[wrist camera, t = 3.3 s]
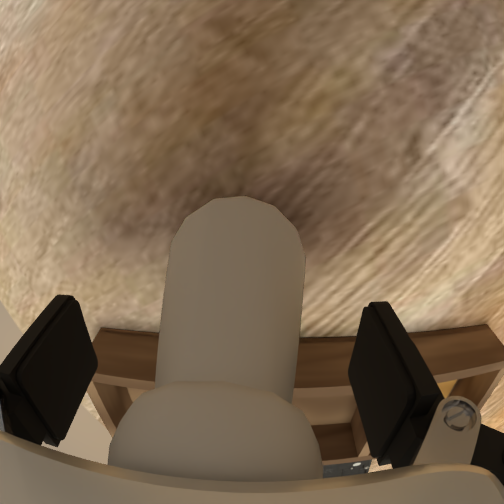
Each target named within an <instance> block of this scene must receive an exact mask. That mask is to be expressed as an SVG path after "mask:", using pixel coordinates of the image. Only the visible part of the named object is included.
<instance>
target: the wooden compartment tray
mask: <svg viewBox="0 0 504 504" xmlns="http://www.w3.org/2000/svg"><path fill="white" fill-rule="evenodd" d="M408 335H409V337H410V339H411V340H412V341H413V342H414V344H415V345H416V347H417V349H418V350H419V352H420V354H421V356H422V357H423V359H424V361H425V363H426V364H427V366H428V368H429V370H430V372H431V373H432V375H433V377H434V379H435V381H436V383H437V384H438V386H439V388H440V390H441V392H442V394H443V396H444V398H447V397H450V396H461V397H465V398H467V399H469V400H471V401H472V402H473V403H474V404H475V405H476V406H477V408H478V409H479V411H480V409H481V408H482V407H483V405H484V404H485V402H486V401H487V399H488V398H489V397H490V395H491V394H492V392H493V390H494V389H495V387H496V386H497V384H498V383H499V381H500V380H501V378H502V376H503V375H504V345H503V344H502V343H501V341H500V340H499V339H498V338H497V336H496V335H495V334H494V332H493V331H492V330H491V329H490V327H489V326H488V325H487V324H486V325H478V326H471V327H463V328H455V329H446V330H436V331H426V332H415V333H408ZM356 337H357V336H352V337H323V338H299V345H298V355H297V364H296V373H295V382H294V391H293V399H292V405H293V406H295V407H297V408H298V409H300V410H301V411H303V412H304V414H305V416H306V418H307V419H308V421H309V423H310V425H311V428H312V430H313V432H314V434H315V437H316V439H317V441H318V444H319V448H320V453H321V459H322V464H323V465H331V464H341V463H349V462H357V461H364V460H371V459H377V458H372V456H371V454H370V450H369V446H368V443H367V439H366V435H365V432H364V428H363V425H362V421H361V418H360V414H359V411H358V407H357V404H356V401H355V397H354V394H353V391H352V387H351V384H350V381H349V377H348V367H349V363H350V360H351V356H352V352H353V348H354V345H355V341H356ZM158 342H159V333H151V332H139V331H128V330H118V329H109V328H101V329H100V330H99V332H98V334H97V335H96V337H95V339H94V340H93V342H92V345H93V348H94V351H95V353H96V356H97V359H98V367H97V370H96V372H95V374H94V376H93V378H92V380H91V382H90V384H89V386H88V389H87V392H88V394H89V396H90V398H91V400H92V402H93V404H94V406H95V408H96V410H97V412H98V413H99V415H100V417H101V419H102V421H103V423H104V424H105V426H106V428H107V430H108V431H109V433H110V435H111V436H112V438H113V436H114V434H115V432H116V429H117V427H118V425H119V423H120V421H121V419H122V418H123V416H124V415H125V414H126V412H127V411H128V409H129V408H130V406H131V405H132V403H133V402H134V401H135V400H136V399H137V398H138V397H139V396H140V395H141V394H142V393H144V392H147V391H150V390H152V389H155V376H156V364H157V352H158Z"/></svg>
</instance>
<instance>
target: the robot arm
mask: <svg viewBox="0 0 504 504" xmlns="http://www.w3.org/2000/svg"><path fill="white" fill-rule="evenodd" d="M97 367H98V359H97V356H96V353H95V351H94V348H93V345H92V342H91V339H90V336H89V333H88V330H87V327H86V324H85V321H84V318H83V314H82V311H81V308H80V304H79V302H78V301H77V300H75V298H74V297H73V296H70V295H57V296H55V298H54V299H53V300H52V301H51V302H50V303H49V305H48V306H47V307H46V308H45V309H44V310H43V312H42V313H41V314H40V315H39V316H38V318H37V319H36V320H35V321H34V322H33V324H32V325H31V326H30V327H29V329H28V330H27V331H26V332H25V334H24V335H23V336H22V337H21V339H20V340H19V341H18V342H17V344H16V345H15V346H14V348H13V349H12V350H11V352H10V353H9V354H8V355H7V357H6V358H5V360H4V361H3V363H2V364H1V365H0V504H504V433H502V432H499V431H497V430H495V429H492V428H490V427H488V426H485V425H483V424H481V414H480V411H479V409H478V408H477V406H476V405H475V404H474V403H473V402H472V401H471V400H469V399H467V398H465V397H461V396H450V397H447V398H444V396H443V394H442V392H441V390H440V388H439V386H438V384H437V383H436V381H435V379H434V377H433V375H432V373H431V372H430V370H429V368H428V366H427V364H426V363H425V361H424V359H423V357H422V356H421V354H420V352H419V350H418V349H417V347H416V345H415V344H414V342H413V341H412V340H411V339H410V337H409V335H408V333H407V332H406V330H405V328H404V327H403V325H402V323H401V322H400V320H399V318H398V317H397V315H396V314H395V312H394V310H393V309H392V307H391V305H390V304H389V303H388V302H386V301H385V302H371V303H369V305H368V307H364V309H363V312H362V316H361V320H360V325H359V329H358V333H357V337H356V341H355V345H354V348H353V352H352V356H351V360H350V363H349V367H348V377H349V381H350V384H351V387H352V391H353V394H354V397H355V401H356V404H357V407H358V411H359V414H360V418H361V421H362V425H363V428H364V432H365V435H366V439H367V443H368V446H369V450H370V454H371V456H372V458H377V461H378V465H379V466H381V465H386V464H392V468H393V469H388V470H382V471H376V472H370V473H364V474H357V475H350V476H342V477H333V478H323V479H312V480H298V481H276V482H238V481H216V480H202V479H191V478H181V477H173V476H165V475H158V474H152V473H146V472H140V471H134V470H129V469H124V468H119V467H115V466H110V465H106V464H101V463H98V462H93V461H90V460H86V459H82V458H78V457H75V456H72V455H68V454H65V453H62V452H59V451H56V450H53V449H49V448H47V447H44V446H41V444H42V442H43V441H44V442H45V443H46V444H49V445H52V446H55V447H58V445H59V443H60V441H61V440H63V439H65V437H66V434H67V432H68V430H69V428H70V425H71V423H72V421H73V419H74V416H75V414H76V412H77V409H78V408H79V405H80V403H81V401H82V399H83V397H84V395H85V393H86V391H87V389H88V386H89V384H90V382H91V380H92V378H93V376H94V374H95V372H96V370H97Z"/></svg>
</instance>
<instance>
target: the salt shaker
mask: <svg viewBox="0 0 504 504" xmlns="http://www.w3.org/2000/svg"><path fill="white" fill-rule="evenodd" d="M305 262H306V257H305V253H304V250H303V247H302V243H301V240H300V237H299V233H298V230H297V229H296V228H295V226H294V225H293V224H292V223H291V222H290V221H289V220H288V219H287V218H286V217H285V216H284V215H283V214H282V213H281V212H280V211H279V210H278V209H277V208H276V207H275V206H274V205H271V204H268V203H265V202H262V201H259V200H256V199H254V198H251V197H248V196H237V197H226V198H215V199H213V200H211V201H210V202H208V203H207V204H205V205H204V206H202V207H201V208H199V209H198V210H196V211H195V212H193V213H192V214H190V215H189V216H187V217H186V218H185V220H184V221H183V223H182V225H181V226H180V228H179V230H178V231H177V233H176V235H175V236H174V238H173V240H172V241H171V247H170V253H169V260H168V267H167V274H166V281H165V289H164V297H163V305H162V313H161V322H160V332H159V342H158V352H157V364H156V376H155V389H152V390H150V391H147V392H144V393H142V394H141V395H140V396H139V397H138V398H137V399H136V400H135V401H134V402H133V403H132V405H131V406H130V408H129V409H128V411H127V412H126V414H125V415H124V416H123V418H122V419H121V421H120V423H119V425H118V427H117V429H116V432H115V434H114V436H113V438H112V441H111V443H110V447H109V456H108V465H110V466H115V467H119V468H124V469H129V470H134V471H140V472H146V473H152V474H158V475H165V476H173V477H181V478H191V479H202V480H216V481H238V482H276V481H298V480H312V479H323V464H322V459H321V453H320V448H319V444H318V441H317V439H316V437H315V434H314V432H313V430H312V428H311V425H310V423H309V421H308V419H307V418H306V416H305V414H304V412H303V411H301V410H300V409H298V408H297V407H295V406H293V405H292V399H293V391H294V382H295V373H296V364H297V355H298V345H299V335H300V325H301V314H302V302H303V289H304V276H305Z"/></svg>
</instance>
